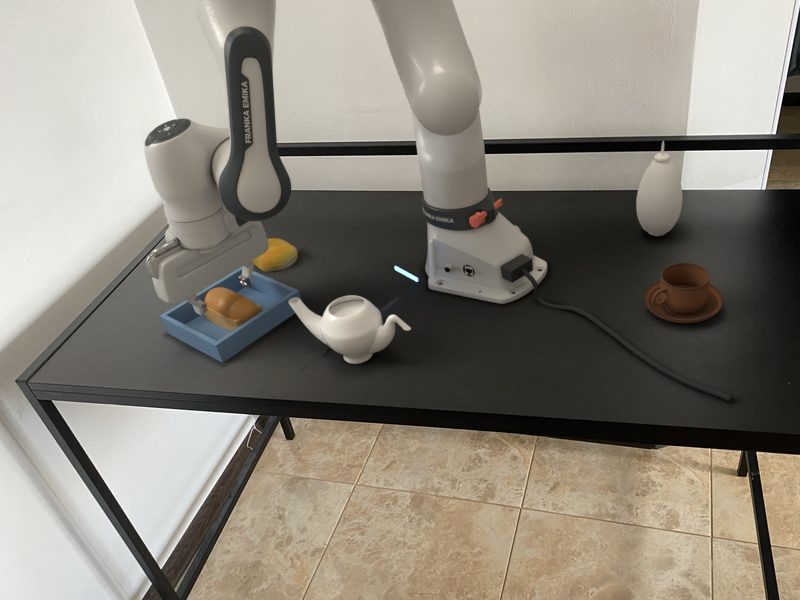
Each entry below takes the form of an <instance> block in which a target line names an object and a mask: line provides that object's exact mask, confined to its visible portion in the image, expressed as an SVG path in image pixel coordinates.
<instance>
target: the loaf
mask: <svg viewBox="0 0 800 600" xmlns="http://www.w3.org/2000/svg"><path fill="white" fill-rule="evenodd" d="M205 303H206V305H207V308H208V311H207V312H205V313H204V314H205V316H206V319H207V320H209V321H211V322H213V323H215V324H217V325H219V326H221V327H223V328H225V329H227V330H229V331H231V332H232V331H233V330H235V329H236V328H238V327H239V326H241V325H242V324H244V323H246V322H247V321H249V320H250V319H252V318H253V317H255V316H256V315H258V314H259V313H261V312H262V311H263V310H262V307H261V306H260V305H258V304H256V303H255V302H254V301H252V300H251V299H249V298H247V297H245V296H243V295H240V294H238V293H236V292H234V291H232V290H229V289H227V288H224V287H217V288H214V289H212V290H210V291H209V292H208V293H207V295H206V297H205Z"/></svg>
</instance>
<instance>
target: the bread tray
mask: <svg viewBox="0 0 800 600" xmlns="http://www.w3.org/2000/svg"><path fill="white" fill-rule="evenodd" d="M242 268H243V266H242V267H240V268H238V269H236V270H235V271H233V272H231V273H230V274H228V275H226V276H224V277H223V278H221V279H219V280H217V281H216V282H214V283H212V284H211V285H209V286H207V287H205V288H204V289H202V290H200V291H199V292H197V293H196V296H197V298H196V299H194V300H195V301H198V300H201V301H202V302H205V297H206V295H207V293H208V292H209V291H210V290H212V289H214V288H217V287H224V288H227V289H229V290H232V291H234V292H236V293H238V294H240V295H243V296H245V297H247V298H249V299H251V300H252V301H254V302H255V303H256V304H258V305H260V306H261V307H262V310H263V311H262V312H261V313H259V314H258V315H256V316H255V317H253V318H252V319H250V320H249V321H247V322H246V323H244V324H242V325H241V326H239V327H238V328H236V329H235V330H233V331H232V332H231V331H229V330H227V329H225V328H223V327H221V326H219V325H217V324H215V323H213V322H211V321H209V320H207V319H206V316H205V314H202V315H199V314H197V313H196V312H195V310H194V307H193V305H192V304H191V303H189V302H188V301H186V300H183V301H181V302H180V303H178V304H176V305H174V307H172V308H170V309H169V310H167V311H166V312H164V313H162V314H160V315H159V319H160V320H161V322H162V324H163V326H164V329H165V332H166V333H167V334H169V335H171V336H172V337H174V338H176V339H177V340H180V341H181V342H183V343H185V344H186V345H189V346H191V347H193V348H195V349H196V350H198V351H200V352H202V353H204V354H206V355H207V356H209V357H211V358H213V359H215V360H217V361H219V362H220V363H224V362H226V361H228V360H229V359H231V358H233V356H235V355H236V354H238V353H239V352H241V351H242V350H244V349H245V348H247V347H248V346H250V345H252V343H254V342H256V341H257V340H258V339H260V338H261V337H262V336H264V335H266V334H267V333H269V332H270V331H271V330H273V329H274V328H276V327H277V326H279V325H280V324H282V323H283V322H285V321H286V320H288V319H289V318H290V317H292V316H293V315H295V314H296V313H295V312H294V310H293V309H292V307H291V306H290V304H289V300H290V299H291V298H295V297H297V298H299V299H300V300H301V301H302V302H303V299H302V296H301V292H300V290H299V289H297V288H295V287H292V286H290V285H289V284H288V285H287V284H285V283H283V282H280V281H278V280H275V279H273V278H271V277H269V276H266V275H263V274H261V273H258V272H256V271H255V270H253V272H252V275H251V276H252V280H253V284H252V285H250V286H248V287H247V288H246V287H245V286H242V285H241V284H240V280H239V278H238V277H239V276H240V275H242Z"/></svg>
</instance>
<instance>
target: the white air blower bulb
mask: <svg viewBox="0 0 800 600" xmlns="http://www.w3.org/2000/svg"><path fill="white" fill-rule="evenodd" d="M660 148H661V149H660V152H658V153H656V154H655V155H654V156H653V160H652V161H651V162H650V164H649V165H648V166H647V168H646V170H645V171H644V173H643V175H642V177H641V180H640V183H639V185H638V189H637V194H636V200H635V201H636V202H635V205H636V206H635V208H636V209H635V211H636V216H637V219H638V222H639V224H640V226H641V228H642V229H643V230H644V231H645V232H647V233H648V235H651V236H654V237H660V236H664V235H666V234H667V233H669V232H670V231H671V230H672V229H673V228H674V227H675V226H676V224H677V222H678V221H679V218H680V216H681V212H682V209H683V208H682V207H683V199H684V198H683V188H682V182H681V178H680V175H679V173H678V172H679V171H678V170H677V168H676V165H675V164H674V163H673V161H672V160H671V155H670V154H669V153H666V152H665V141H664V140H662V143H661V147H660Z"/></svg>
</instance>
